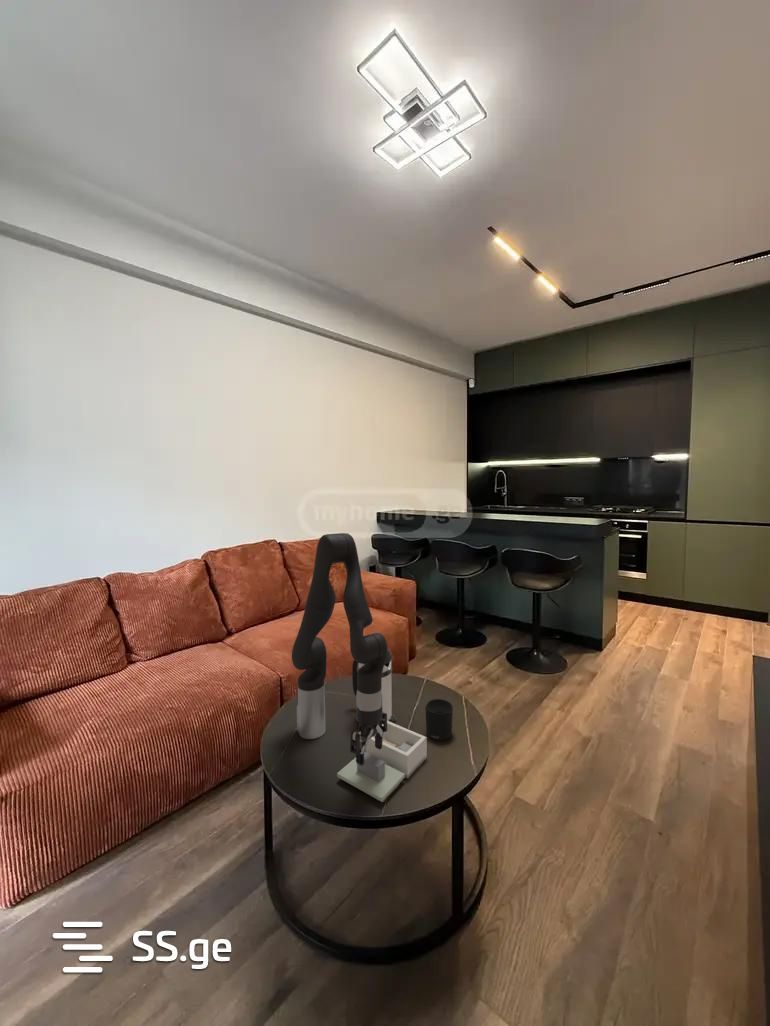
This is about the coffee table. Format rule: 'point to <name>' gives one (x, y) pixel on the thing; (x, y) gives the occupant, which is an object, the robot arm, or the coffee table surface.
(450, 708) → the pen holder
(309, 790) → the coffee table surface
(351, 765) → the lid
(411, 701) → the coffee table surface
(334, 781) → the coffee table surface
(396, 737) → the storage box
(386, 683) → the coffee press
